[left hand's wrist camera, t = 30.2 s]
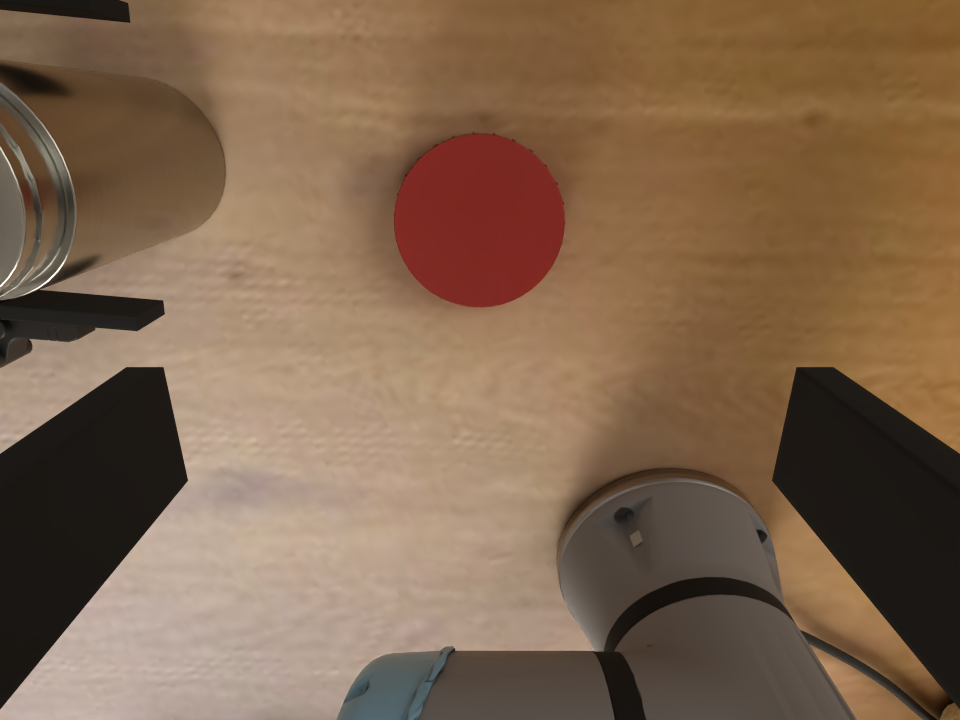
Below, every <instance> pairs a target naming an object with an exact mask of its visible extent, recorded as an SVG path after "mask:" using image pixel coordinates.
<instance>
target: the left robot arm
mask: <svg viewBox="0 0 960 720" xmlns="http://www.w3.org/2000/svg"><path fill="white" fill-rule="evenodd" d="M187 481H188V479H187V474H186V469H185V465H184V460H183V455H182V451H181V446H180V442H179V437H178V432H177V428H176V423H175V419H174V414H173V409H172V405H171V400H170V395H169V391H168V386H167V382H166V377H165V372H164V368H163V367H126V368H125V369H123V370H122V371H120V372H119V373H117V374H116V375H115V376H113V377H112V378H110V379H109V380H107V381H106V382H104V383H103V384H101V385H100V386H98V387H97V388H96V389H94V390H93V391H91V392H90V393H88V394H87V395H85V396H84V397H82V398H81V399H80V400H78V401H77V402H75V403H74V404H72V405H71V406H69V407H68V408H66V409H65V410H63V411H62V412H61V413H59V414H58V415H56V416H55V417H53V418H52V419H50V420H49V421H47V422H46V423H45V424H43V425H42V426H40V427H39V428H37V429H36V430H34V431H33V432H31V433H30V434H28V435H27V436H26V437H24V438H23V439H21V440H20V441H18V442H17V443H15V444H14V445H12V446H11V447H10V448H8V449H7V450H5V451H4V452H2V453H1V454H0V709H1V708H2V707H3V705H4V704H5V703H6V702H7V700H8V699H9V698H10V697H11V696H12V694H13V693H14V692H15V691H16V690H17V688H18V687H19V686H20V685H21V683H22V682H23V681H24V680H25V679H26V677H27V676H28V675H29V674H30V672H31V671H32V670H33V669H34V668H35V666H36V665H37V664H38V663H39V662H40V660H41V659H42V658H43V657H44V655H45V654H46V653H47V652H48V651H49V649H50V648H51V647H52V646H53V644H54V643H55V642H56V641H57V640H58V638H59V637H60V636H61V635H62V633H63V632H64V631H65V630H66V629H67V627H68V626H69V625H70V624H71V623H72V621H73V620H74V619H75V618H76V616H77V615H78V614H79V613H80V612H81V610H82V609H83V608H84V607H85V605H86V604H87V603H88V602H89V601H90V599H91V598H92V597H93V596H94V595H95V593H96V592H97V591H98V590H99V588H100V587H101V586H102V585H103V584H104V582H105V581H106V580H107V579H108V577H109V576H110V575H111V574H112V573H113V571H114V570H115V569H116V568H117V566H118V565H119V564H120V563H121V562H122V560H123V559H124V558H125V557H126V556H127V554H128V553H129V552H130V551H131V549H132V548H133V547H134V546H135V545H136V543H137V542H138V541H139V540H140V538H141V537H142V536H143V535H144V534H145V532H146V531H147V530H148V529H149V527H150V526H151V525H152V524H153V523H154V521H155V520H156V519H157V518H158V517H159V515H160V514H161V513H162V512H163V510H164V509H165V508H166V507H167V506H168V504H169V503H170V502H171V501H172V499H173V498H174V497H175V496H176V495H177V493H178V492H179V491H180V490H181V489H182V487H183V486H184V485H185V484H186V482H187ZM772 481H773V482H774V484H775V485H776V486H777V487H778V489H779V490H780V491H781V492H782V493H783V495H784V496H785V497H786V498H787V499H788V501H789V502H790V503H791V504H792V506H793V507H794V508H795V509H796V510H797V512H798V513H799V514H800V515H801V517H802V518H803V519H804V520H805V521H806V523H807V524H808V525H809V526H810V527H811V529H812V530H813V531H814V532H815V534H816V535H817V536H818V537H819V538H820V540H821V541H822V542H823V543H824V545H825V546H826V547H827V548H828V549H829V551H830V552H831V553H832V554H833V556H834V557H835V558H836V559H837V560H838V562H839V563H840V564H841V565H842V566H843V568H844V569H845V570H846V571H847V573H848V574H849V575H850V576H851V577H852V579H853V580H854V581H855V582H856V584H857V585H858V586H859V587H860V588H861V590H862V591H863V592H864V593H865V595H866V596H867V597H868V598H869V599H870V601H871V602H872V603H873V604H874V605H875V607H876V608H877V609H878V610H879V612H880V613H881V614H882V615H883V616H884V618H885V619H886V620H887V621H888V623H889V624H890V625H891V626H892V627H893V629H894V630H895V631H896V632H897V633H898V635H899V636H900V637H901V638H902V640H903V641H904V642H905V643H906V644H907V646H908V647H909V648H910V649H911V651H912V652H913V653H914V654H915V655H916V657H917V658H918V659H919V660H920V662H921V663H922V664H923V665H924V666H925V668H926V669H927V670H928V671H929V672H930V674H931V675H932V676H933V677H934V679H935V680H936V681H937V682H938V683H939V685H940V686H941V687H942V688H943V690H944V691H945V692H946V693H947V694H948V696H949V697H950V698H951V699H952V700H953V702H954V703H955V704H956V705H957V707H958V708H959V709H960V454H959V453H958V452H956V451H955V450H953V449H952V448H950V447H949V446H948V445H946V444H945V443H943V442H942V441H940V440H939V439H937V438H936V437H934V436H933V435H932V434H930V433H929V432H927V431H926V430H924V429H923V428H921V427H920V426H918V425H917V424H915V423H914V422H913V421H911V420H910V419H908V418H907V417H905V416H904V415H902V414H901V413H899V412H898V411H897V410H895V409H894V408H892V407H891V406H889V405H888V404H886V403H885V402H883V401H882V400H880V399H879V398H878V397H876V396H875V395H873V394H872V393H870V392H869V391H867V390H866V389H864V388H863V387H862V386H860V385H859V384H857V383H856V382H854V381H853V380H851V379H850V378H848V377H847V376H845V375H844V374H843V373H841V372H840V371H838V370H837V369H835V368H834V367H797V368H796V372H795V377H794V382H793V386H792V391H791V395H790V400H789V405H788V409H787V414H786V419H785V423H784V428H783V432H782V437H781V442H780V446H779V451H778V455H777V460H776V465H775V469H774V474H773V479H772ZM557 570H558V576H559V582H560V588H561V592H562V595H563V598H564V600H565V603H566V605H567V606H568V609H569V610H570V612H571V614H572V616H573V617H574V619H575V620H576V621H577V622H578V624H579V625H580V627H581V628H582V630H583V632H584V633H585V635H586V637H587V638H588V640H589V642H590V643H591V645H592V646H593V648H594V650H595V651H455V648H454V647H445V648H443V649H442V650H441V651H429V652H411V653H392V654H387V655H384V656H381V657H379V658H377V659H375V660H374V661H372V662H371V663H369V664H368V665H367V666H366V667H365V668H364V669H363V670H362V672H361V673H360V674H359V675H358V677H357V678H356V680H355V681H354V683H353V684H352V686H351V688H350V690H349V692H348V694H347V696H346V698H345V700H344V703H343V705H342V708H341V710H340V712H339V715H338V717H337V720H857V719H856V717H855V716H854V714H853V713H852V711H851V710H850V708H849V706H848V705H847V703H846V702H845V700H844V699H843V697H842V695H841V694H840V692H839V691H838V689H837V688H836V686H835V684H834V683H833V681H832V680H831V678H830V677H829V675H828V673H827V672H826V670H825V669H824V667H823V666H822V664H821V662H820V661H819V659H818V658H817V656H816V655H815V653H814V651H813V650H812V648H811V647H810V645H809V644H811V645H813V646H815V647H817V648H819V649H821V650H823V651H824V652H826V653H828V654H830V655H832V656H834V657H836V658H838V659H840V660H841V661H843V662H845V663H847V664H849V665H850V666H852V667H854V668H856V669H857V670H859V671H860V672H862V673H864V674H865V675H867V676H868V677H870V678H872V679H873V680H875V681H876V682H878V683H879V684H880V685H882V686H883V687H885V688H886V689H887V690H889V691H890V692H891V693H893V694H894V695H895V696H896V697H898V698H899V699H900V700H901V701H902V702H903V703H904V704H906V705H907V706H908V707H909V708H910V709H911V710H912V711H914V712H915V713H916V714H917V715H918V716H920V717H921V718H922V719H923V720H937V719H936V718H934V717H933V716H932V715H931V714H929V713H928V712H927V711H926V710H924V709H923V708H922V707H921V706H920V705H919V704H917V703H916V702H915V701H914V700H913V699H912V698H911V697H910V696H908V695H907V694H906V693H905V692H904V691H903V690H901V689H900V688H899V687H898V686H896V685H895V684H894V683H892V682H891V681H890V680H888V679H887V678H886V677H884V676H883V675H881V674H880V673H878V672H877V671H875V670H874V669H872V668H870V667H869V666H867V665H866V664H864V663H862V662H861V661H859V660H857V659H856V658H854V657H852V656H850V655H849V654H847V653H845V652H843V651H841V650H839V649H838V648H836V647H834V646H832V645H830V644H828V643H826V642H824V641H822V640H820V639H818V638H816V637H814V636H812V635H810V634H808V633H806V632H804V631H801V630H800V629H799V628H798V627H797V625H796V624H795V622H794V620H793V619H792V617H791V615H790V614H789V612H788V610H787V609H786V607H785V604H784V599H783V594H782V588H781V583H780V578H779V572H778V567H777V561H776V557H775V551H774V547H773V543H772V540H771V537H770V534H769V531H768V529H767V527H766V525H765V523H764V521H763V520H762V518H761V517H760V516H759V514H758V513H757V511H756V510H755V508H754V507H753V506H752V504H751V503H750V501H749V500H748V499H747V498H746V497H745V496H744V495H743V494H742V493H741V492H740V491H739V490H738V489H736V488H735V487H733V486H732V485H731V484H729V483H727V482H725V481H724V480H722V479H720V478H717V477H715V476H712V475H709V474H706V473H703V472H699V471H694V470H687V469H657V470H649V471H645V472H640V473H636V474H633V475H630V476H627V477H624V478H622V479H619V480H617V481H615V482H613V483H611V484H609V485H607V486H606V487H604V488H602V489H601V490H599V491H598V492H596V493H595V494H593V495H592V496H591V497H590V498H589V499H587V500H586V501H585V502H584V503H583V504H582V505H581V506H580V507H579V508H578V509H577V510H576V512H575V513H574V514H573V516H572V517H571V518H570V520H569V522H568V523H567V525H566V527H565V529H564V531H563V533H562V536H561V538H560V541H559V545H558V551H557ZM808 643H809V644H808Z"/></svg>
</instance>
